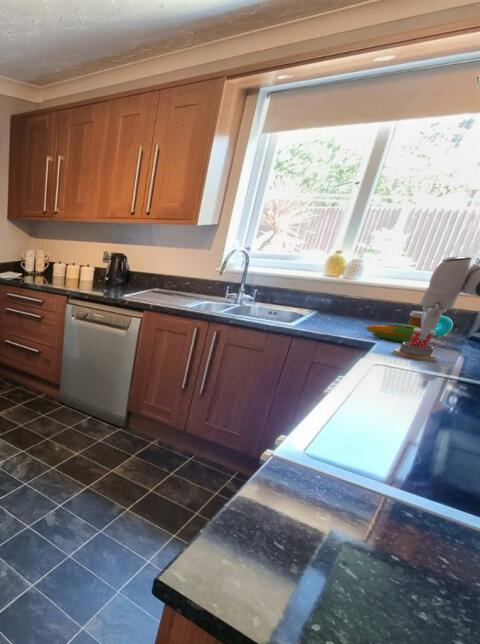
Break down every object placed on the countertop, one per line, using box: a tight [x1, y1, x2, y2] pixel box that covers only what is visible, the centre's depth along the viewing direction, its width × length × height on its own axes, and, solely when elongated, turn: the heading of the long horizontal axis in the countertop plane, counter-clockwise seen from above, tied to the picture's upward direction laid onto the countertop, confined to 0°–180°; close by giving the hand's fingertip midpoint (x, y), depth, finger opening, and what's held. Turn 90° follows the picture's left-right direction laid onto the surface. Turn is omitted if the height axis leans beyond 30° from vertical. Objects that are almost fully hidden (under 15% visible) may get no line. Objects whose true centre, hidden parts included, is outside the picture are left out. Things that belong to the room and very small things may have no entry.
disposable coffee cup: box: [406, 310, 423, 328], centre depth 191 cm, size 10×10×12 cm
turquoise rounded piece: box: [432, 314, 454, 338], centre depth 199 cm, size 10×10×10 cm
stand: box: [392, 342, 437, 362], centre depth 166 cm, size 12×12×4 cm
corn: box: [365, 322, 421, 343], centre depth 188 cm, size 7×8×20 cm
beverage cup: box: [409, 328, 436, 348], centre depth 163 cm, size 6×6×14 cm
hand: (421, 337), depth 164 cm, fingers open, 8 cm apart
